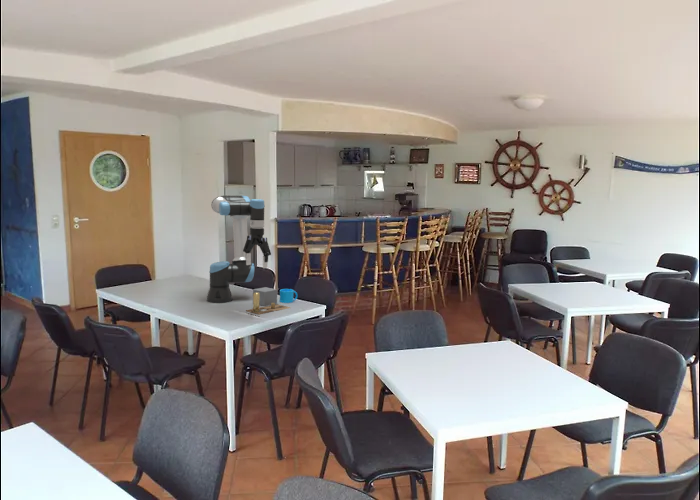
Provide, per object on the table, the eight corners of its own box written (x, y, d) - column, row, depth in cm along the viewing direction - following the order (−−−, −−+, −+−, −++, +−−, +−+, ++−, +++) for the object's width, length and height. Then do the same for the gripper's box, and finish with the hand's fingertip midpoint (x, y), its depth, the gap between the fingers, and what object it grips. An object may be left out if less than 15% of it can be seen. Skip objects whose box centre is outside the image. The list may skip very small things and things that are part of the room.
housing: (252, 305, 310) (253, 289, 309) (265, 302, 318) (265, 287, 316) (264, 308, 304) (264, 292, 302) (277, 305, 311) (277, 289, 310)
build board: (245, 313, 291) (245, 310, 291) (260, 309, 300) (260, 307, 299) (258, 316, 284) (258, 313, 284) (273, 313, 293) (273, 310, 292)
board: (261, 309, 301) (261, 302, 300) (276, 306, 310) (277, 299, 309) (275, 313, 293) (275, 305, 293) (291, 309, 302) (291, 302, 302)
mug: (284, 305, 312) (284, 292, 311) (277, 302, 318) (277, 289, 317) (301, 303, 320) (301, 290, 319) (293, 300, 326) (293, 287, 325)
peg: (251, 314, 289) (252, 292, 288) (256, 313, 292) (256, 292, 290) (255, 315, 287) (256, 293, 286) (260, 314, 290) (260, 292, 288)
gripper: (236, 226, 289) (236, 264, 291) (267, 230, 273) (266, 270, 276) (247, 225, 294) (247, 262, 297) (278, 229, 279) (277, 268, 282)
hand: (256, 266), depth 286 cm, fingers open, 13 cm apart
